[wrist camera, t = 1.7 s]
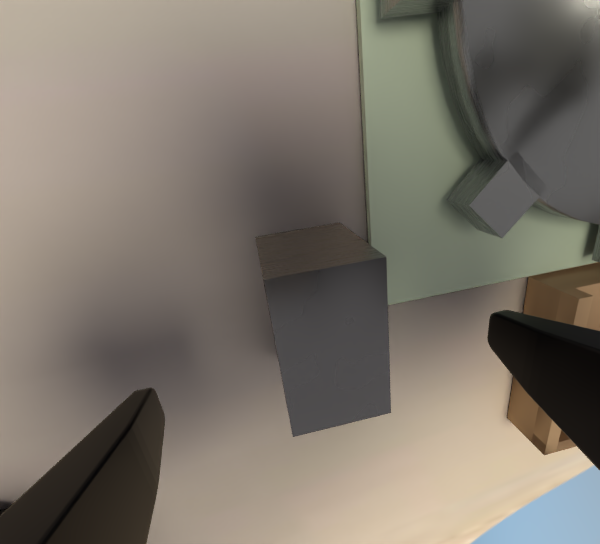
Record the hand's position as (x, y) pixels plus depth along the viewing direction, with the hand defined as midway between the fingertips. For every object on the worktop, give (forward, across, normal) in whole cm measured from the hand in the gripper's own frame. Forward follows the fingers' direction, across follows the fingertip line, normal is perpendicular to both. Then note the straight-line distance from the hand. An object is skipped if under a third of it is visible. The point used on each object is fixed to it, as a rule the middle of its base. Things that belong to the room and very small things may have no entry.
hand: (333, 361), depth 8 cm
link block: (+4, 0, 0) cm, 4 cm away
